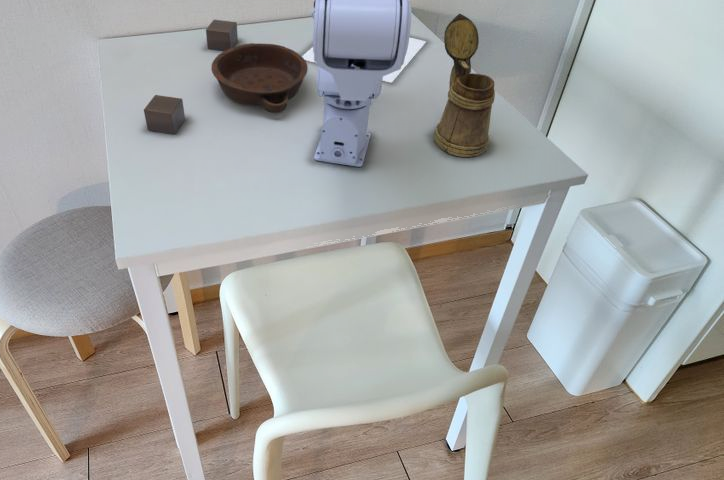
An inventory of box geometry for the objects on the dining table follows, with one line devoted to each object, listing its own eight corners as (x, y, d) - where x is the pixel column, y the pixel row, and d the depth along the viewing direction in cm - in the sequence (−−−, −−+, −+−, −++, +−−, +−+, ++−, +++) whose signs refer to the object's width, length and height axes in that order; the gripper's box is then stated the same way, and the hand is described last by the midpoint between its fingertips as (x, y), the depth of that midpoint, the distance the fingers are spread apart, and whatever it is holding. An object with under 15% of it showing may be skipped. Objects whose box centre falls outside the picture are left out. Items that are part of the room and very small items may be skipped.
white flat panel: (384, 41, 125) (387, 21, 122) (370, 56, 120) (372, 36, 117) (347, 31, 127) (348, 12, 124) (331, 46, 123) (332, 27, 120)
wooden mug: (460, 110, 107) (484, 9, 93) (497, 153, 98) (530, 48, 85) (414, 117, 105) (433, 15, 92) (448, 161, 96) (474, 55, 83)
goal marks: (174, 134, 100) (171, 113, 97) (147, 130, 101) (143, 109, 98) (238, 41, 124) (236, 22, 121) (215, 38, 125) (213, 19, 122)
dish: (229, 128, 102) (227, 102, 98) (202, 68, 116) (199, 44, 112) (324, 112, 106) (325, 86, 102) (286, 56, 120) (286, 32, 116)
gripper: (382, -73, 87) (374, -33, 101) (300, -17, 88) (302, 15, 102) (407, -31, 88) (396, 3, 101) (324, 24, 89) (324, 50, 102)
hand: (350, 11), depth 102 cm, fingers open, 7 cm apart
